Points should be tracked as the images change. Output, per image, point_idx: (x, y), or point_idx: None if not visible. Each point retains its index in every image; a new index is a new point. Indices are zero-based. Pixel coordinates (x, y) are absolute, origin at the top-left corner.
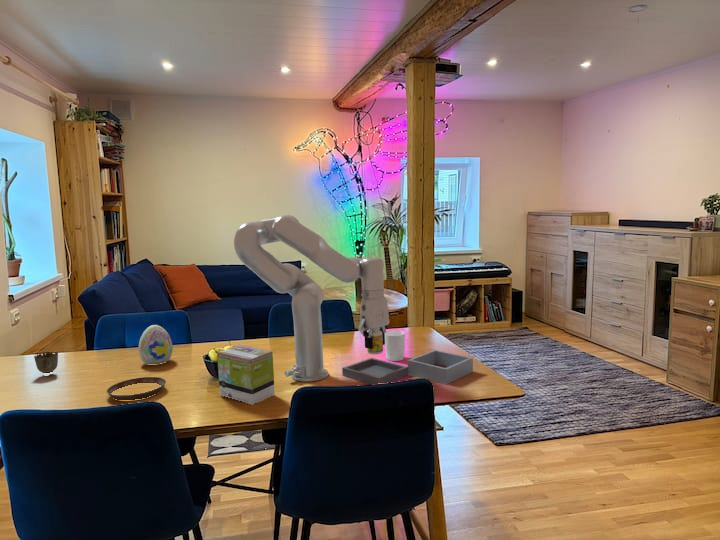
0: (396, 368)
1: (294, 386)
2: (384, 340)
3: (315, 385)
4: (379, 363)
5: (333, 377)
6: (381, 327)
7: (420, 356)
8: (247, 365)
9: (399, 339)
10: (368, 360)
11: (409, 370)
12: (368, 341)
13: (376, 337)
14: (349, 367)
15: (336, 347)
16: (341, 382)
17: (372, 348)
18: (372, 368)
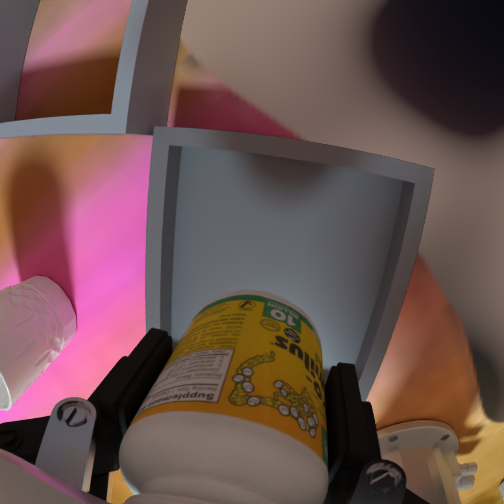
0: (171, 202)
1: (490, 431)
2: (140, 349)
3: (477, 398)
4: (165, 323)
5: (385, 407)
6: (87, 486)
7: (42, 119)
8: None
9: None
10: None
11: (156, 123)
12: (376, 436)
13: (298, 423)
14: None
15: (120, 489)
16: (430, 352)
17: (340, 362)
18: None
